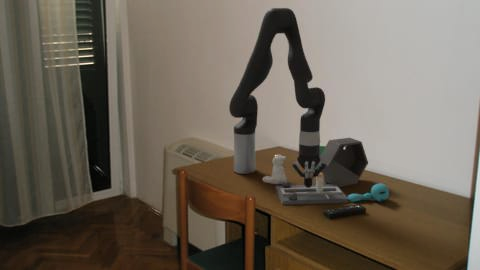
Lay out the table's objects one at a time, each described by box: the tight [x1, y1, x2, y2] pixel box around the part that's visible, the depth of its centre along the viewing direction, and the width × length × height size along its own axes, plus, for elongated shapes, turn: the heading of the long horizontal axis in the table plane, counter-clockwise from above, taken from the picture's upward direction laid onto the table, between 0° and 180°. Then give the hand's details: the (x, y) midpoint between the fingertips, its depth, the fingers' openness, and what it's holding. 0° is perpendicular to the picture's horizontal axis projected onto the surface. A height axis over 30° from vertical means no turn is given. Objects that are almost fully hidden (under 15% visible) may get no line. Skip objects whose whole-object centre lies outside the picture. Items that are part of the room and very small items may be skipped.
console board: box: [275, 180, 349, 206], centre depth 188 cm, size 16×24×4 cm, turn 95°
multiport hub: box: [323, 203, 367, 220], centre depth 171 cm, size 4×14×2 cm, turn 111°
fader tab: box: [315, 173, 324, 192], centre depth 187 cm, size 3×2×6 cm
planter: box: [318, 137, 369, 188], centre depth 201 cm, size 17×8×21 cm
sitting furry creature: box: [262, 153, 287, 186], centre depth 203 cm, size 10×9×12 cm
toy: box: [347, 183, 390, 203], centre depth 183 cm, size 12×6×15 cm
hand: (307, 187), depth 187 cm, fingers closed
